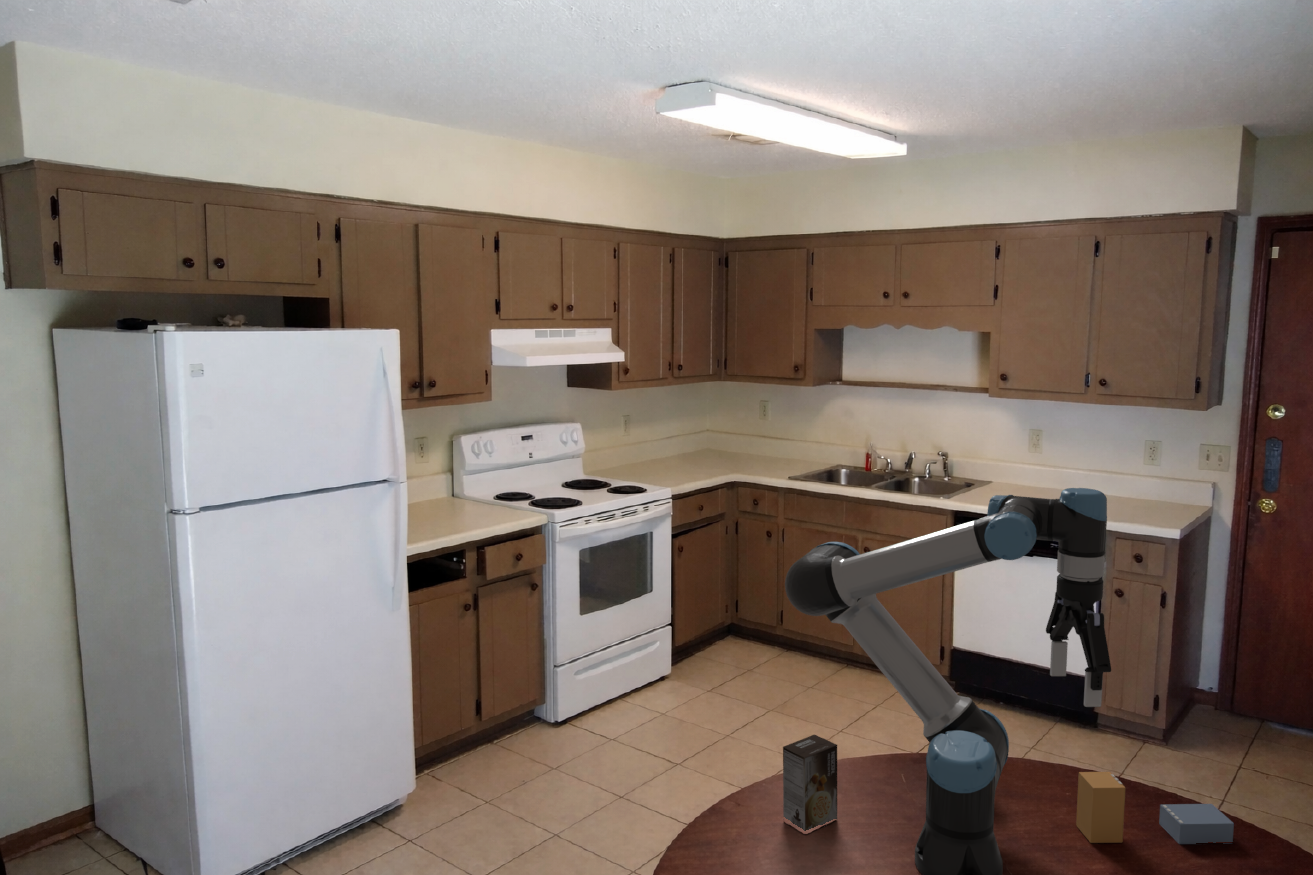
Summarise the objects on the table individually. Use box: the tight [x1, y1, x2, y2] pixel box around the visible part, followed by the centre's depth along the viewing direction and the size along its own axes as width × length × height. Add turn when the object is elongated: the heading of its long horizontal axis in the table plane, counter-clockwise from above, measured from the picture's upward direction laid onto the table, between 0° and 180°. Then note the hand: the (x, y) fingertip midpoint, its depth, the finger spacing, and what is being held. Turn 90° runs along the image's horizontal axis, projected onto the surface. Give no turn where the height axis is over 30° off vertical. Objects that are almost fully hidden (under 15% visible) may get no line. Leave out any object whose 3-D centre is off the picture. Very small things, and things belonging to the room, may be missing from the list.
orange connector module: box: [1075, 771, 1126, 844], centre depth 177 cm, size 6×6×11 cm
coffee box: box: [782, 734, 838, 831], centre depth 182 cm, size 9×6×16 cm
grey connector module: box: [1158, 803, 1235, 845], centre depth 177 cm, size 10×7×4 cm
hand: (1074, 690), depth 167 cm, fingers open, 13 cm apart
